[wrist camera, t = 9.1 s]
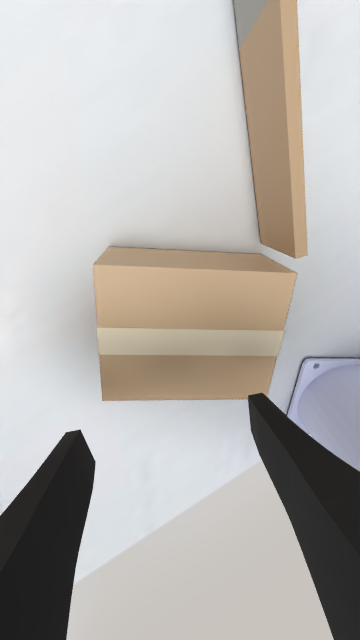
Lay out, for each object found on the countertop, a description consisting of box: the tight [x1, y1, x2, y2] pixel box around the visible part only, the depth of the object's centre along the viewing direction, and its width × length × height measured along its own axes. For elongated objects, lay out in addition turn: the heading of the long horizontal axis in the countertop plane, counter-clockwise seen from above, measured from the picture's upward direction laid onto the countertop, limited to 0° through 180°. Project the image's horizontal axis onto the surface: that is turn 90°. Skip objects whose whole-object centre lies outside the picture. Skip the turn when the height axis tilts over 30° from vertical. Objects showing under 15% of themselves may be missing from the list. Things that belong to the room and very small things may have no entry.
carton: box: [93, 247, 297, 401], centre depth 17 cm, size 10×8×5 cm
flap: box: [234, 0, 308, 259], centre depth 12 cm, size 14×1×5 cm, turn 14°
